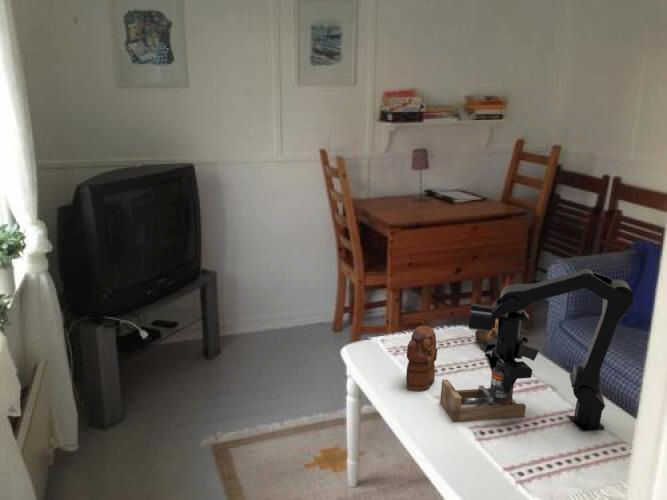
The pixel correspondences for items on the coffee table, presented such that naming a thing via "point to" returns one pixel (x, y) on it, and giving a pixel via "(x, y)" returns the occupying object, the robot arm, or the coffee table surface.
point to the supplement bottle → (499, 386)
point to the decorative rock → (486, 333)
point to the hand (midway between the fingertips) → (501, 386)
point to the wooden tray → (455, 398)
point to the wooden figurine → (421, 359)
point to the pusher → (482, 397)
